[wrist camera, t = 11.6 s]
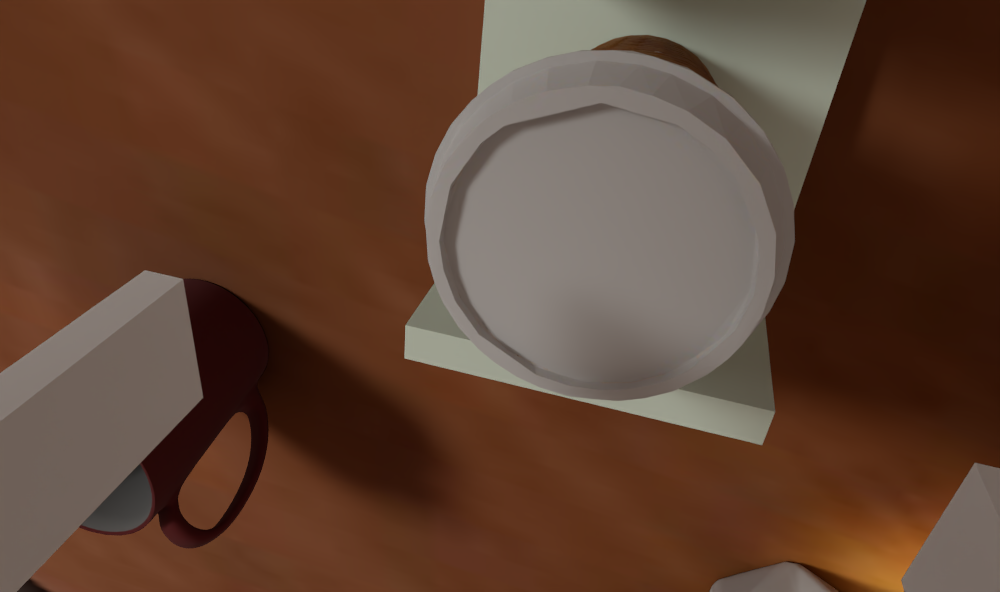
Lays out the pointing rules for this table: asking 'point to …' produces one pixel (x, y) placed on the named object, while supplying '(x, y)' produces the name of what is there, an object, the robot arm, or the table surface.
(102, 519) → the mug
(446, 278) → the disposable coffee cup
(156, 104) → the table surface
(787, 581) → the vase
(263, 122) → the table surface
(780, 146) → the holder
